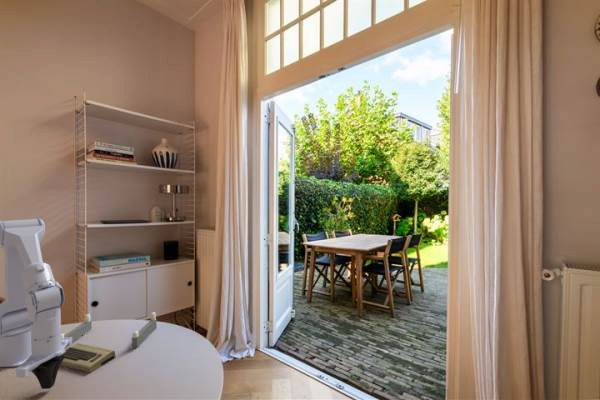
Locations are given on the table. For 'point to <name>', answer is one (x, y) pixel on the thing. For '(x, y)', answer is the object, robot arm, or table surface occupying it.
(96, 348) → the computer
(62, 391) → the table surface
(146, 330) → the dock
